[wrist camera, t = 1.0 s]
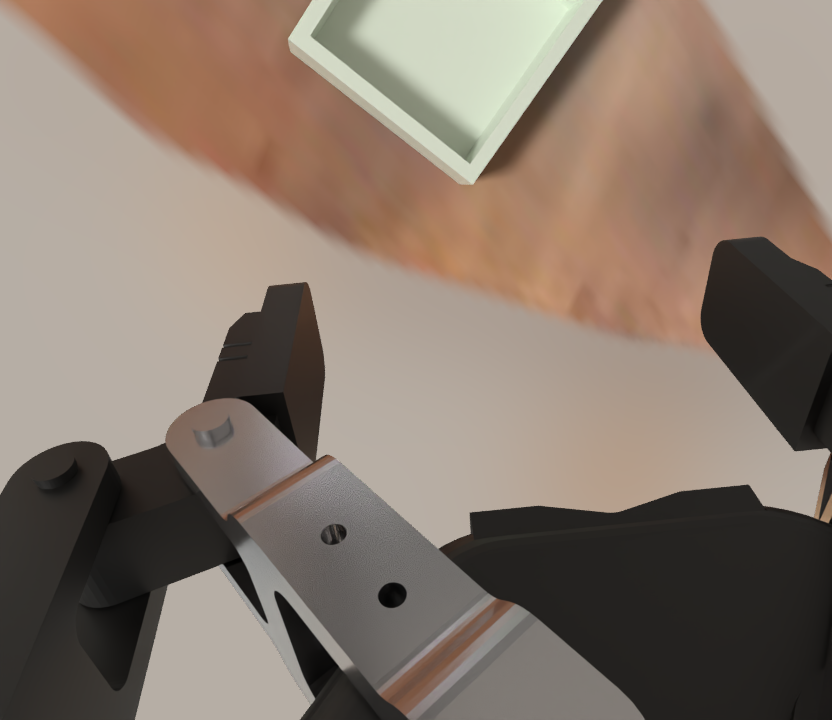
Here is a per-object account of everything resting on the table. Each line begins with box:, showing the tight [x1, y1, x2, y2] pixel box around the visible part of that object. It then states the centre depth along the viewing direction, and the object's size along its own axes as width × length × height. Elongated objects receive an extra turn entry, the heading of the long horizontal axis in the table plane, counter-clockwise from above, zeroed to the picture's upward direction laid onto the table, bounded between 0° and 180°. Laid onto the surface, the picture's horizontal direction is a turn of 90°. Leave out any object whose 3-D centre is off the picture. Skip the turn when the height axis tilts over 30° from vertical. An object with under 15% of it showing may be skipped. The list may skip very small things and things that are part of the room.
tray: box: [288, 0, 602, 185], centre depth 26 cm, size 9×9×2 cm
